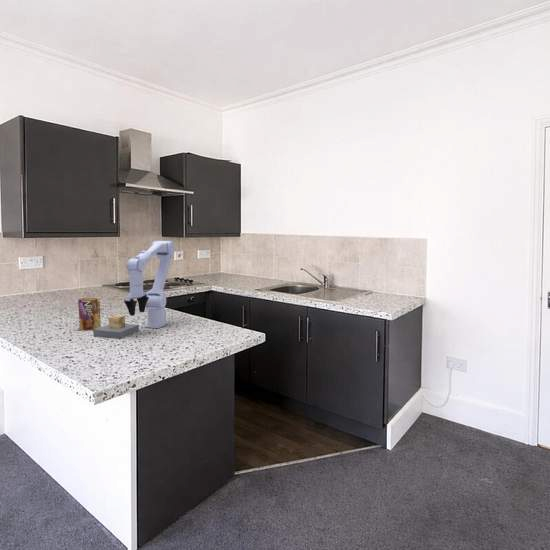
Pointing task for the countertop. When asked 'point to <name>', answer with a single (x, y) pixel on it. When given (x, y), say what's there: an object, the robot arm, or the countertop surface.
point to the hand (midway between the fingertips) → (137, 313)
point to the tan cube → (116, 322)
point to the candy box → (89, 313)
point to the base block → (116, 331)
